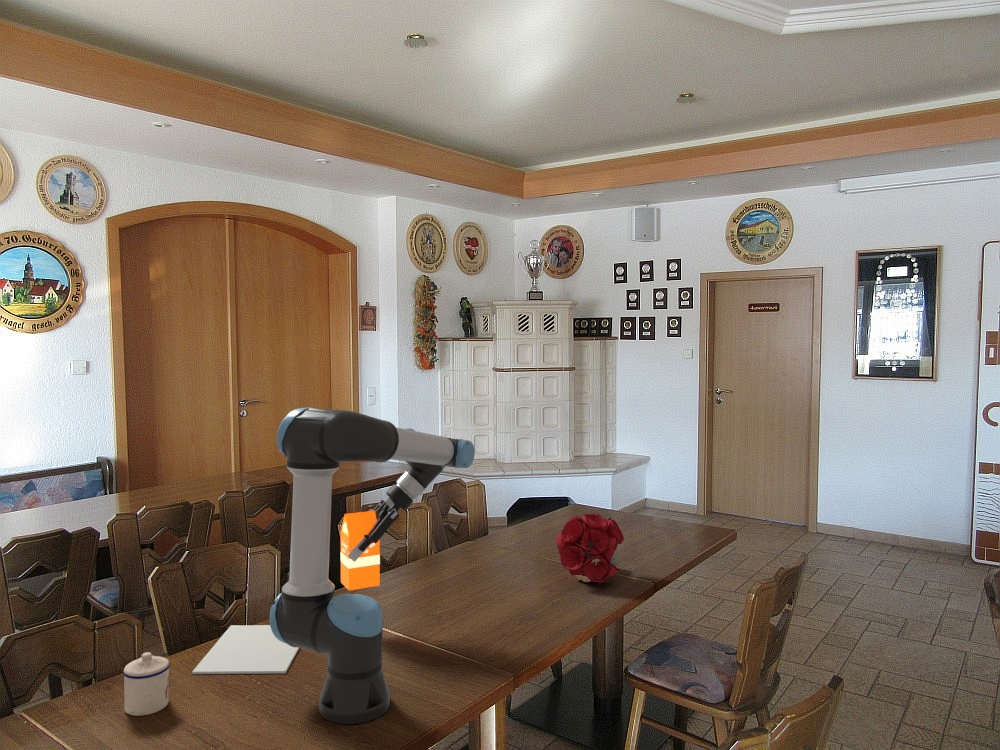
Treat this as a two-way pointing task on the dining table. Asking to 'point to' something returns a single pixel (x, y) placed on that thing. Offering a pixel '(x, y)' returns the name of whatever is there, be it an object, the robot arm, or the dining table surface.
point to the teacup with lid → (146, 685)
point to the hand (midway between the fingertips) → (347, 554)
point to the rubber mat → (247, 652)
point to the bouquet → (590, 546)
